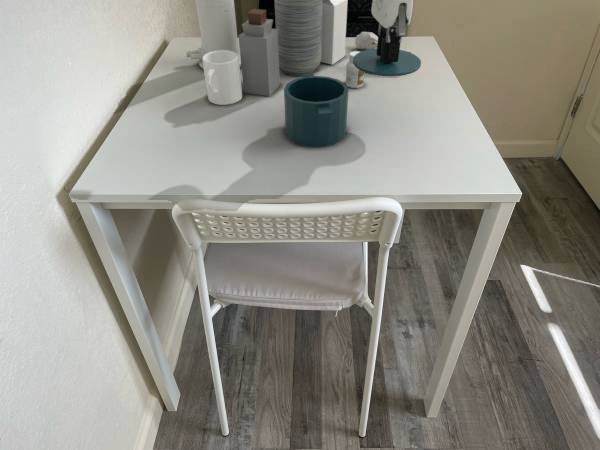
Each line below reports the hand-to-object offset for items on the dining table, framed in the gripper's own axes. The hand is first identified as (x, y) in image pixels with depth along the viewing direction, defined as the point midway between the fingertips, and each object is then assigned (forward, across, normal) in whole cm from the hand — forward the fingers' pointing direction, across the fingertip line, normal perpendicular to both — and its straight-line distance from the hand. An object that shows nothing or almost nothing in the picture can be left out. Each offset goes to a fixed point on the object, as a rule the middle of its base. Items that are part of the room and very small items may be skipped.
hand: (387, 57), depth 92 cm
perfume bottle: (+14, -20, -24) cm, 34 cm away
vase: (+14, -30, -13) cm, 36 cm away
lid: (+1, 0, 0) cm, 1 cm away
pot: (+13, +3, -15) cm, 20 cm away
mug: (+14, -15, -34) cm, 40 cm away
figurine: (+14, -40, +9) cm, 43 cm away
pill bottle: (+14, -18, -1) cm, 23 cm away
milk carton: (+14, -36, -4) cm, 39 cm away
